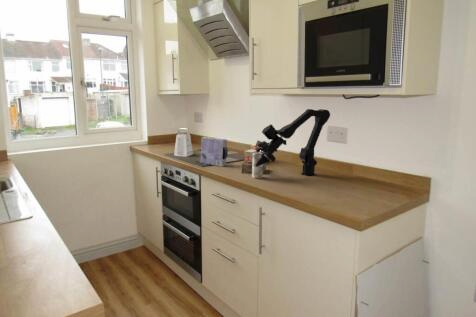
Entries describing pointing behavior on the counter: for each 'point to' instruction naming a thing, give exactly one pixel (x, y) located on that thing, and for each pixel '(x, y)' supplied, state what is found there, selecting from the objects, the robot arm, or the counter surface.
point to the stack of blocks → (250, 153)
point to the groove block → (250, 167)
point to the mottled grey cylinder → (256, 169)
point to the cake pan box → (214, 151)
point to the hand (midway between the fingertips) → (254, 165)
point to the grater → (183, 144)
